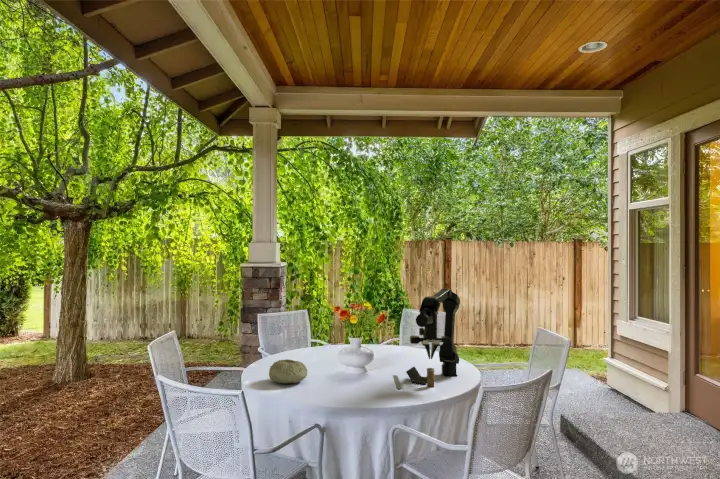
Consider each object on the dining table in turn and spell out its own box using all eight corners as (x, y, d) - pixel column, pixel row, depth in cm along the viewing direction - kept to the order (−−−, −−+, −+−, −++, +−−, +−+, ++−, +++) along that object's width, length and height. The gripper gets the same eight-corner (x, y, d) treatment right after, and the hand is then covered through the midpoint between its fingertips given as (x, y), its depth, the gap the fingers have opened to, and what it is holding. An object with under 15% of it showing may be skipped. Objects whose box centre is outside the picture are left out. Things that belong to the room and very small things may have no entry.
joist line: (397, 375, 225) (397, 375, 225) (402, 389, 203) (402, 388, 203) (393, 375, 225) (393, 375, 225) (397, 389, 203) (397, 388, 203)
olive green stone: (302, 375, 224) (302, 355, 225) (311, 385, 208) (311, 363, 208) (265, 379, 218) (266, 358, 218) (272, 389, 201) (272, 366, 202)
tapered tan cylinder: (433, 385, 209) (433, 368, 209) (434, 387, 205) (435, 369, 206) (426, 385, 209) (426, 368, 209) (427, 387, 205) (427, 369, 205)
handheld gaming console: (429, 382, 209) (416, 363, 212) (416, 391, 210) (404, 372, 213) (432, 379, 219) (420, 361, 223) (421, 387, 220) (409, 369, 224)
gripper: (447, 322, 217) (447, 355, 216) (408, 321, 216) (408, 354, 216) (452, 325, 205) (452, 360, 205) (411, 325, 205) (410, 360, 205)
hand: (430, 358), depth 208 cm, fingers closed
